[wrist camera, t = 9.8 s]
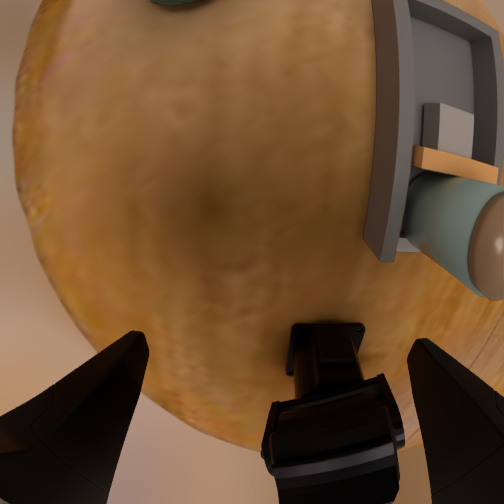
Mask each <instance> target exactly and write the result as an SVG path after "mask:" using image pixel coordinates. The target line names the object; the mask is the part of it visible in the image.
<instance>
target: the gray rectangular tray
mask: <svg viewBox="0 0 504 504" xmlns="http://www.w3.org/2000/svg"><path fill="white" fill-rule="evenodd" d="M372 8H373V17H374V29H375V44H376V73H377V97H376V127H375V144H374V157H373V168H372V178H371V187H370V195H369V203H368V210H367V217H366V224H365V230H364V236H363V239H364V240H365V242H366V243H367V245H368V246H369V247H370V249H371V250H372V251H373V253H374V254H375V256H376V257H377V259H378V260H379V261H380V262H394V258H395V254H396V251H399V252H421V251H420V250H418V249H417V248H415V247H414V246H413V245H412V244H411V243H410V242H409V241H408V240H407V238H406V236H405V234H404V232H403V229H402V220H403V215H404V209H405V203H406V197H407V190H408V187H409V186H410V185H411V183H412V182H413V181H414V180H415V179H416V178H418V177H419V176H421V175H423V174H425V173H429V172H437V171H432V170H427V169H422V168H419V167H417V166H414V165H411V158H412V147H413V144H414V145H418V146H422V141H423V126H424V103H443V104H446V105H449V106H451V107H454V108H457V109H460V110H462V111H465V112H468V113H470V114H473V115H474V131H473V145H472V156H471V159H473V160H476V161H479V162H482V163H485V164H488V165H491V166H494V167H497V168H499V169H498V177H497V183H496V184H497V185H500V180H501V173H502V165H503V156H504V67H503V58H502V51H501V45H500V39H499V33H498V31H496V30H495V29H493V28H492V27H490V26H489V25H487V24H485V23H484V22H482V21H480V20H479V19H477V18H475V17H473V16H472V15H470V14H468V13H466V12H464V11H463V10H461V9H459V8H457V7H455V6H453V5H451V4H449V3H447V2H444V1H442V0H372ZM437 173H442V172H437ZM443 174H447V173H443ZM449 175H452V174H449ZM454 176H456V175H454Z"/></svg>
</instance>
